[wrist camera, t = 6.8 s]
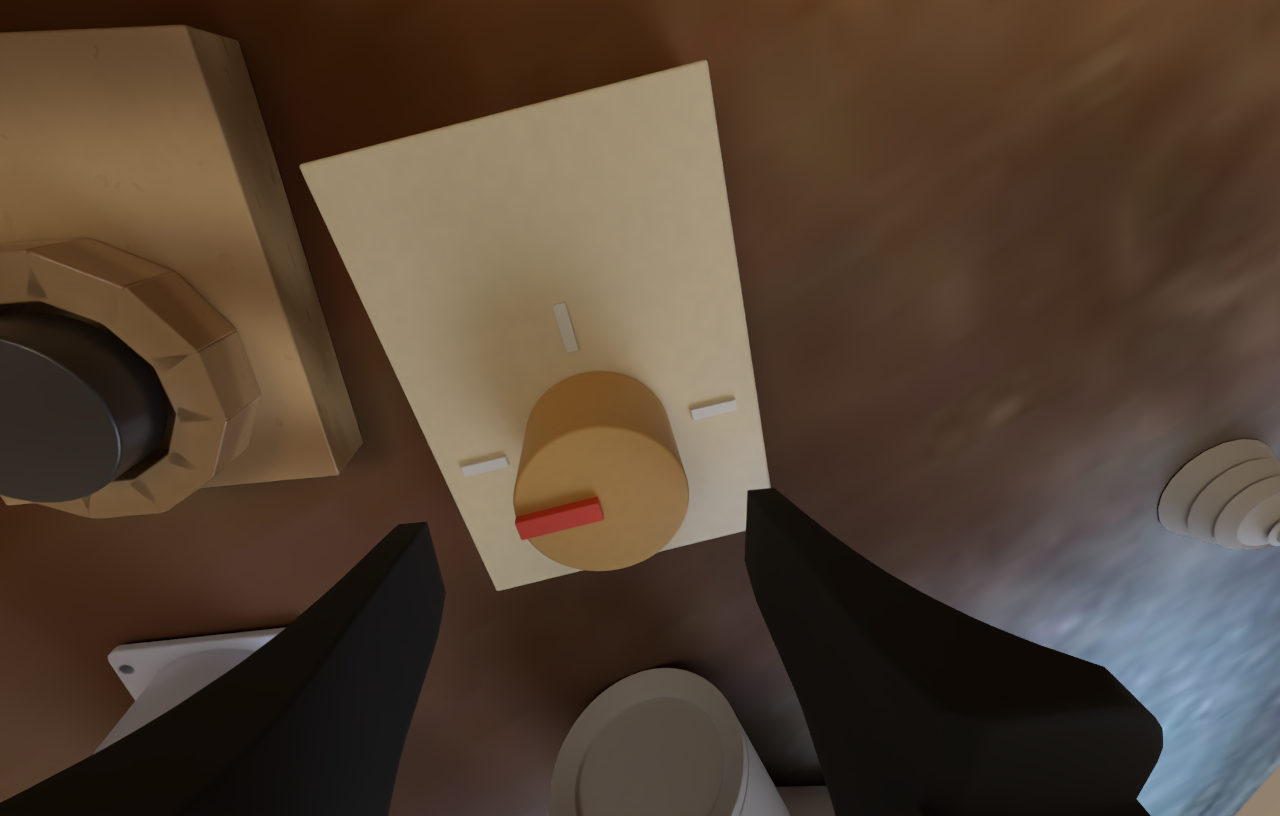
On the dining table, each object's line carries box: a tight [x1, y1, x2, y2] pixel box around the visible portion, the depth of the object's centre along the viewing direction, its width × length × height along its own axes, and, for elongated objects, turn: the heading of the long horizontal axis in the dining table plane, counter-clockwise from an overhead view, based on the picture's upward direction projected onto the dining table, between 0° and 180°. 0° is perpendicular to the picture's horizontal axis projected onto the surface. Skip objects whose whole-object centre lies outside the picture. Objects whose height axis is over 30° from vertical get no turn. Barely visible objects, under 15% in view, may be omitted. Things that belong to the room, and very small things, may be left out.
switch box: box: [0, 25, 363, 519], centre depth 15 cm, size 12×10×4 cm
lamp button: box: [0, 312, 168, 503], centre depth 14 cm, size 4×4×2 cm
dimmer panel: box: [299, 60, 771, 591], centre depth 17 cm, size 14×10×3 cm
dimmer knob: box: [513, 371, 689, 571], centre depth 15 cm, size 4×4×4 cm
